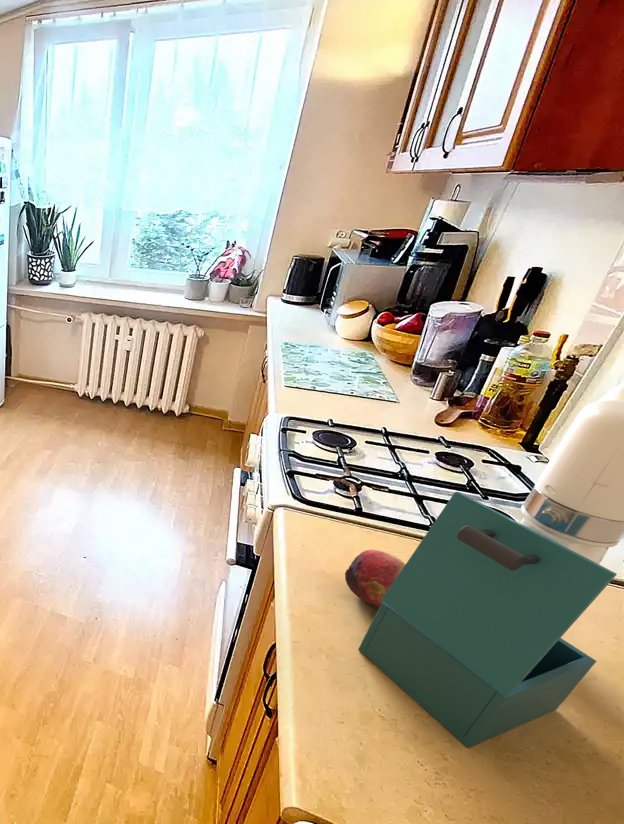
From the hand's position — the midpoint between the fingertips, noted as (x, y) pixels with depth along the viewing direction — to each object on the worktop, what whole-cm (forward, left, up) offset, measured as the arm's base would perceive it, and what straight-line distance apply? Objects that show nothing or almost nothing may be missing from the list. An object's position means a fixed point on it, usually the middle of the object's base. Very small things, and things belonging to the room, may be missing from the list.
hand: (495, 630), depth 64 cm
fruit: (+1, -13, -8) cm, 15 cm away
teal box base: (+3, 0, -8) cm, 8 cm away
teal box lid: (+9, 0, +10) cm, 13 cm away
